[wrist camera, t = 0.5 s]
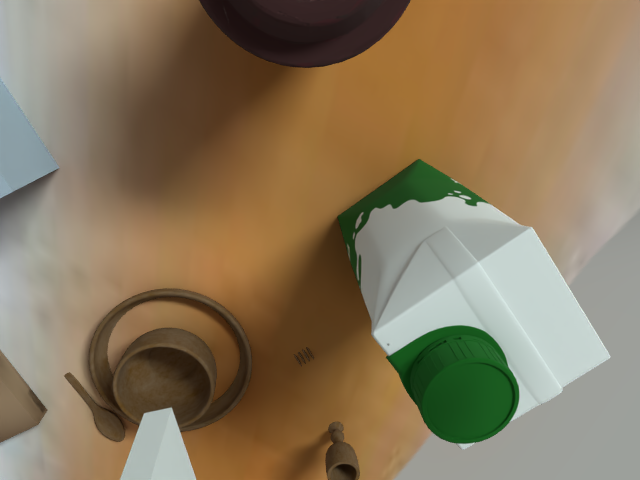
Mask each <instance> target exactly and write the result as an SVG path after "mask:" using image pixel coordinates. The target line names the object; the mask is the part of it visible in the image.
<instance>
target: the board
mask: <svg viewBox="0 0 640 480" xmlns="http://www.w3.org/2000/svg"><path fill="white" fill-rule="evenodd" d="M46 412H47V409H46V408H45V406H44V405H43V404H42V403H41V401H40V400H39V399H38V397H37V396H36V395H35V394H34V392H33V391H32V390H31V389H30V387H29V386H28V385H27V384H26V382H25V381H24V380H23V378H22V377H21V376H20V375H19V373H18V372H17V371H16V370H15V368H14V367H13V366H12V364H11V363H10V362H9V361H8V359H7V358H6V357H5V356H4V354H3V353H2V352H1V351H0V443H1V442H3V441H5V440H7V439H9V438H11V437H13V436H15V435H17V434H19V433H22V432H24V431H26V430H28V429H30V428H32V427H34V426H36V425H38V424H39V422H40V421H41V419H42V418H43V416H44V415H45V413H46Z"/></svg>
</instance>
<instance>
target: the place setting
mask: <svg viewBox="0 0 640 480" xmlns="http://www.w3.org/2000/svg"><path fill="white" fill-rule="evenodd" d="M161 297H181V298H187V299H191V300H195V301H198V302H200V303H203V304H205V305H207V306H209V307H210V308H212V309H213V310H215V311H216V312H218V313H219V314H220V315H221V316H222V317H223V318H224V319H225V320H226V321H227V322H228V323H229V325H230V326H231V328H232V329H233V331H234V333H235V335H236V337H237V340H238V343H239V348H240V365H239V370H238V373H237V376H236V378H235V380H234V382H233V383H232V385H231V386H230V388H229V389H228V390H227V391H226V392H225V393H224V394H223V395H222V396H221V397H220V398H219V399H217V400H216V401H214V402H213V403H211V402H212V399H213V396H214V390H215V384H216V377H217V370H216V363H215V359H214V356H213V354H212V352H211V350H210V349H209V347H208V346H207V345H206V344H205V342H204V341H202V340H201V339H200V338H199V337H197V336H196V335H194V334H192V333H190V332H188V331H185V330H182V329H177V328H161V329H156V330H153V331H150V332H147V333H145V334H144V335H142V336H140V337H139V338H137V339H136V340H135V341H134V342H133V343H132V344H131V345H130V346H129V348H128V349H127V350H126V352H125V354H124V355H123V357H122V359H121V361H120V363H119V364H118V366H117V368H116V371H115V373H114V377H113V375H112V373H111V370H110V367H109V363H108V356H107V348H108V342H109V337H110V335H111V332H112V330H113V328H114V327H115V325H116V323H117V322H118V321H119V319H120V318H121V317H122V316H123V315H124V314H125V313H126V312H127V311H129V310H130V309H132V308H133V307H135V306H137V305H139V304H140V303H143V302H145V301H148V300H151V299H156V298H161ZM306 349H307V351H308V352H309V354H310V355H311V357H312V358H313V355H312V354H311V352H310V350H309V348H308V347H306ZM302 351H303V353H304V355H305V356H306V358H307V359H308V360H309V358H308V356H307V354H306V352H305V351H304V350H303V349H302ZM298 354H299V355H300V357H301V359H302V360H303V362H304V363H305V364H306V362H305V360H304V358H303V357H302V355H301V353H300V352H298ZM294 356H295V358H296V360H297V361H298V362H299V364H300V365H301V363H300V361H299V359H298V357H297V356H296V355H295V354H294ZM313 359H314V358H313ZM309 361H310V360H309ZM89 366H90V372H91V376H92V380H93V382H94V384H95V387H96V389H97V390H98V392H99V394H100V396H101V397H102V398H103V399H104V401H105V402H106V403H107V404H108V405H109V406H110V407H111V408H112V409H113V410H114V411H115V412H117V413H118V414H119V415H120V416H122V417H124V418H125V419H127V420H129V421H130V422H132V423H135V424H137V425H139V426H140V423H141V420H142V417H143V415H144V413H148V412H153V411H157V410H162V409H167V408H171V407H172V410H173V413H174V416H175V419H176V422H177V424H178V427H179V430H180V432H182V431H190V430H194V429H199V428H202V427H204V426H207V425H210V424H212V423H214V422H216V421H218V420H219V419H221V418H222V417H224V416H225V415H226V414H227V413H229V412H230V411H231V410H232V409H233V408H234V407H235V406H236V405H237V404H238V402H239V401H240V400H241V398H242V397H243V395H244V393H245V391H246V389H247V387H248V384H249V381H250V377H251V371H252V356H251V349H250V345H249V342H248V339H247V336H246V334H245V332H244V330H243V328H242V327H241V325H240V324H239V322H238V321H237V320H236V318H235V317H234V316H233V315H232V314H231V313H230V312H229V311H228V310H227V309H226V308H225V307H223V306H222V305H220V304H219V303H217V302H216V301H214V300H212V299H210V298H209V297H207V296H204V295H201V294H199V293H196V292H192V291H188V290H181V289H157V290H151V291H147V292H143V293H140V294H138V295H135V296H133V297H131V298H129V299H127V300H125V301H123V302H122V303H121V304H119V305H118V306H116V307H115V308H114V309H113V310H112V311H111V312H110V313H109V314H108V315H107V316H106V317H105V318H104V320H103V321H102V322H101V323H100V325H99V327H98V328H97V330H96V332H95V334H94V337H93V339H92V342H91V346H90V351H89ZM301 366H302V365H301ZM64 376H65V378H66V379H67V380H68V381H69V382H70V384H71V385H72V386H73V387H74V388H75V389H76V391H77V392H78V393H79V394H80V395H81V396H82V398H83V399H84V400H85V401H86V402H87V404H88V405H89V406H90V408H91V409H92V411H93V413H94V420H95V423H96V426H97V428H98V430H99V431H100V432H101V433H102V434H103V435H105V436H106V437H108V438H110V439H112V440H114V441H119V442H120V441H122V440H123V439H124V437H125V431H124V427H123V424H122V422H121V421H120V419H119V418H118V417H117V416H116V415H115V414H114V413H112V412H111V411H109V410H107V409H104V408H102V407H100V406H98V405H97V404H96V403H95V402H94V401H93V400H92V399H91V397H90V396H89V395H88V394H87V392H86V391H85V390H84V388H83V387H82V386H81V384H80V383H79V382H78V381H77V379H76V378H75V377H74V376H73V375H72V374H71V373H67V374H65V375H64ZM328 429H329V432H330V433H332V434H331V440H332V442H333V443H334V444H332V445H331V446H330V447H329V448H328V450H327V453H326V472H327V478H328V480H358V479H359V476H360V471H359V465H358V460H357V457H356V454H355V451H354V449H353V448H352V447H351V446H350V445H349V444H347V443H345V442H343V440H344V434H343V433H342V431H343V425H342V424H341V423H340V422H333V423H331V424H330V425H329V428H328Z"/></svg>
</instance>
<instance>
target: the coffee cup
mask: <svg viewBox="0 0 640 480" xmlns="http://www.w3.org/2000/svg"><path fill="white" fill-rule="evenodd" d="M199 1H200V3H201V4H202V6H203V8H204V9H205V11H206V12H207V14H208V15H209V16H210V18H211V19H212V20H213V21H214V23H215V24H216V25H217V26H218V27H219V28H220V29H221V30H222V31H223V32H224V33H225V35H227V36H228V37H229V38H230V39H231V40H232V41H234V42H235V43H236V44H238V45H239V46H240V47H242V48H243V49H245V50H246V51H248V52H250V53H252V54H254V55H255V56H258V57H260V58H262V59H265V60H267V61H269V62H273V63H276V64H280V65H284V66H290V67H303V68H311V67H323V66H327V65H331V64H335V63H339V62H343V61H345V60H347V59H350V58H352V57H355V56H357V55H358V54H360V53H362V52H364V51H365V50H367V49H368V48H370V47H371V46H372V45H374V44H375V43H376V42H378V41H379V40H380V39H381V38H382V37H383V36H384V35H385V34H386V33H387V32H388V31H389V30H390V29H391V28H392V27H393V26H394V25H395V23H396V22H397V21H398V20H399V18H400V17H401V15H402V14H403V13H404V11H405V9H406V8H407V6H408V4H409V3H410V0H199Z"/></svg>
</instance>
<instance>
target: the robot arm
mask: <svg viewBox="0 0 640 480" xmlns="http://www.w3.org/2000/svg"><path fill="white" fill-rule="evenodd" d="M120 480H196V477H195V474H194V471H193V468H192V466H191V463H190V460H189V457H188V454H187V451H186V448H185V445H184V442H183V439H182V436H181V433H180V430H179V427H178V424H177V422H176V419H175V416H174V413H173V410H172V407H171V408H167V409H162V410H157V411H153V412H148V413H144V415H143V417H142V420H141V423H140V426H139V429H138V431H137V434H136V437H135V440H134V443H133V445H132V448H131V451H130V454H129V456H128V459H127V462H126V465H125V468H124V470H123V473H122V476H121V479H120Z"/></svg>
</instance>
